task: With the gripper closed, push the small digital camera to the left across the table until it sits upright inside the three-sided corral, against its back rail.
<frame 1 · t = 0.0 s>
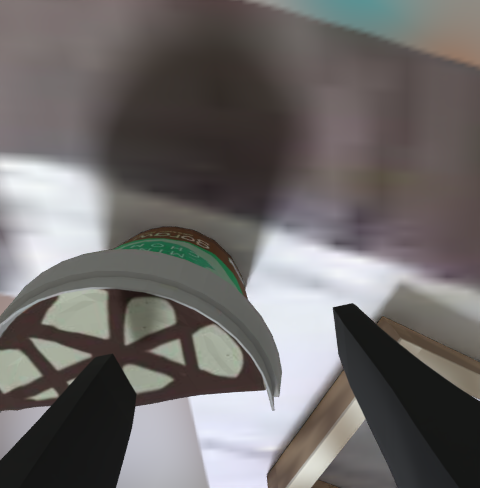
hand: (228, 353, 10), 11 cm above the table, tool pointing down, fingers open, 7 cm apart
food container: (169, 253, 20), on the table
corral: (384, 430, 25), on the table
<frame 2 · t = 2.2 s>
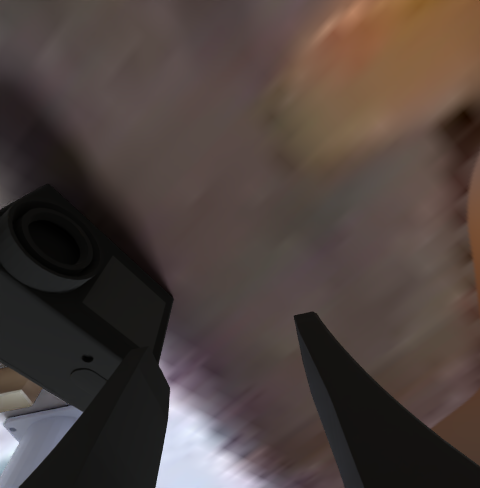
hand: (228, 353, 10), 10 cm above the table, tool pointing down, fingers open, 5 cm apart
digital camera: (103, 258, 20), on the table
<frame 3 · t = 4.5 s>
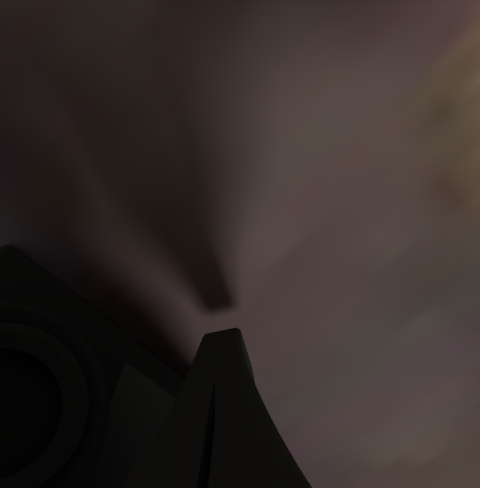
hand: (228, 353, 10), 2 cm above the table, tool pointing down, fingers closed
digital camera: (108, 352, 12), on the table, touching gripper
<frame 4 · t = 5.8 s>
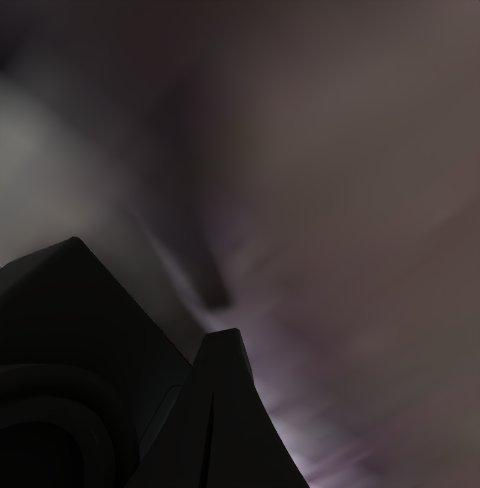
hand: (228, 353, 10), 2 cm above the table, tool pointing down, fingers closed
digital camera: (164, 357, 11), point 1 cm above the table, touching gripper
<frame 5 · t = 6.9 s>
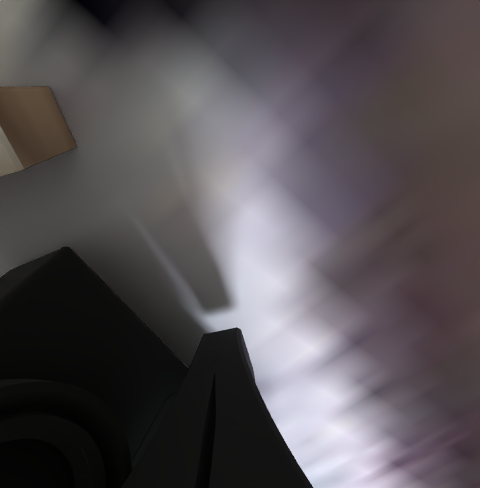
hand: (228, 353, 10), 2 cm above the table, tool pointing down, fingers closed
digital camera: (165, 362, 11), point 1 cm above the table, touching gripper
corral: (40, 362, 12), on the table
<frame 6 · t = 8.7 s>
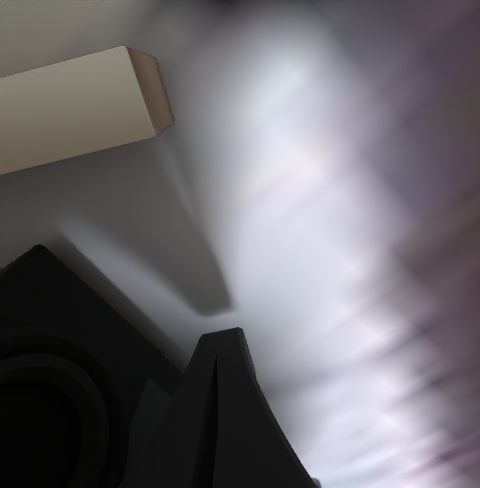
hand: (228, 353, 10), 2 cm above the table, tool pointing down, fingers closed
digital camera: (131, 356, 12), on the table, touching gripper
corral: (104, 347, 12), on the table
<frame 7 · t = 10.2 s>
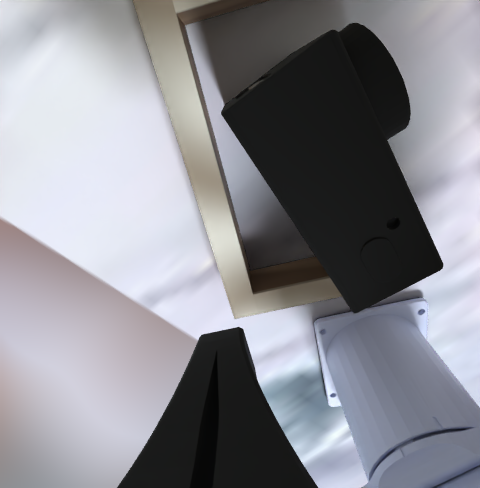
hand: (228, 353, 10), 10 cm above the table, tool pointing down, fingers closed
digital camera: (315, 156, 18), on the table
corral: (300, 149, 17), on the table
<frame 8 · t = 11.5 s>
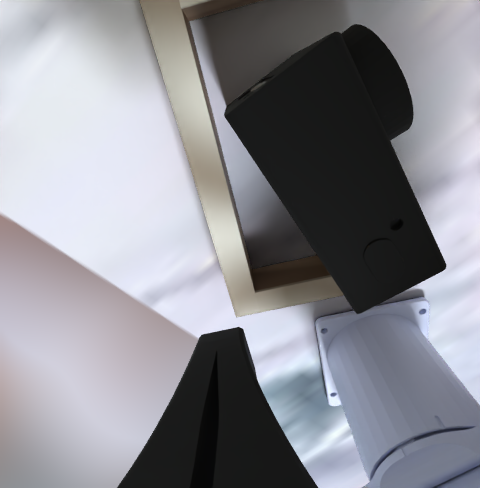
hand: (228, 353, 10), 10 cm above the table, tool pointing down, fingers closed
digital camera: (317, 157, 18), on the table
corral: (304, 147, 17), on the table
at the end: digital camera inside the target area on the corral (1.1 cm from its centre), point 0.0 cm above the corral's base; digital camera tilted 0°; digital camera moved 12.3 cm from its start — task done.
